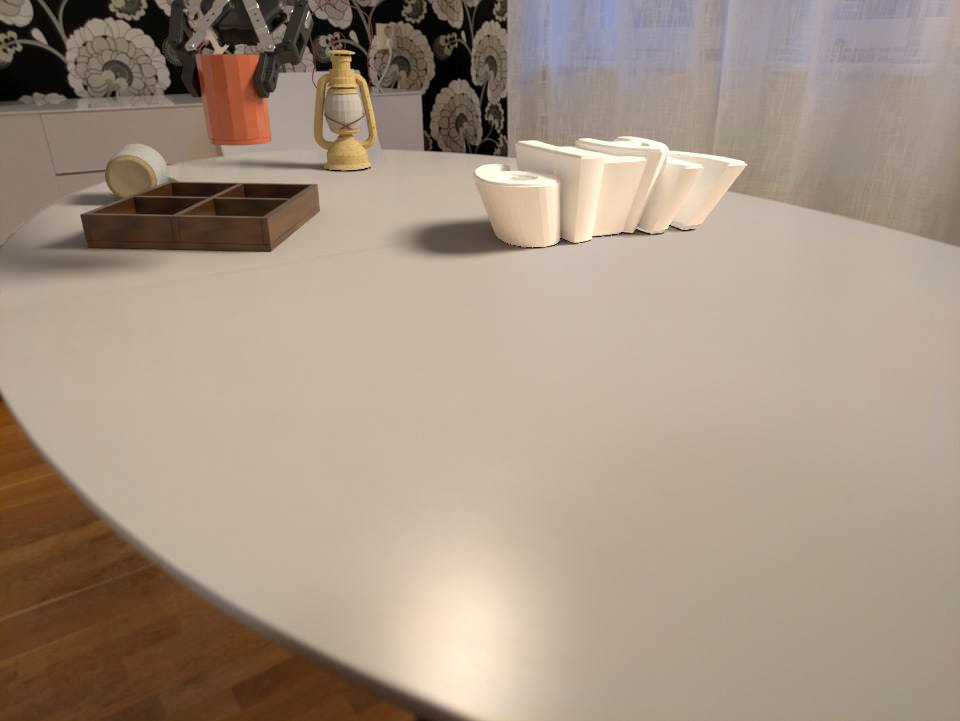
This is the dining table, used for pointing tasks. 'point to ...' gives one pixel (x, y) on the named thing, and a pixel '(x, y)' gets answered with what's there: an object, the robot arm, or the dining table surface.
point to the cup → (232, 100)
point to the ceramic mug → (136, 170)
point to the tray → (203, 216)
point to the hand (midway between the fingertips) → (226, 91)
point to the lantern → (343, 111)
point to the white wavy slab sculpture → (600, 189)
